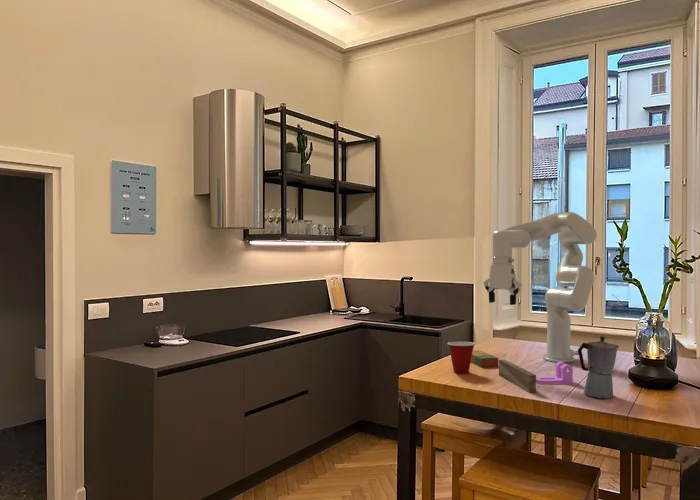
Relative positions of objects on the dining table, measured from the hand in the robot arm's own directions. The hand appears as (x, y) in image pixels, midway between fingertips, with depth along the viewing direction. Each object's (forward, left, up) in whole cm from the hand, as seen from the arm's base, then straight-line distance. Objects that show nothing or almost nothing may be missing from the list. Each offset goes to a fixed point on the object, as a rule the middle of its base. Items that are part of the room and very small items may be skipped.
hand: (502, 303), depth 217 cm
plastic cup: (+18, +2, -27) cm, 32 cm away
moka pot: (-16, +40, -27) cm, 51 cm away
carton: (+4, -12, -27) cm, 30 cm away
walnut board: (+4, +21, -27) cm, 34 cm away
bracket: (-10, +21, -27) cm, 36 cm away
